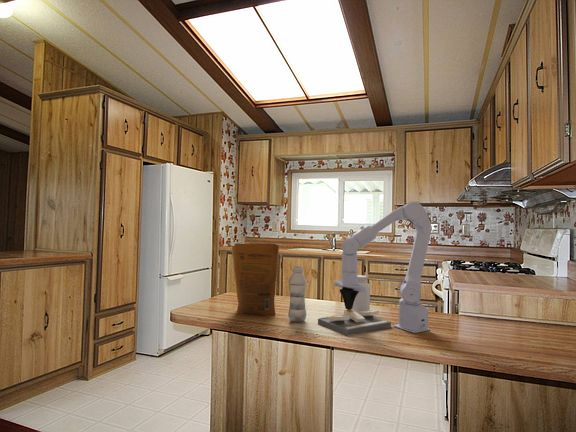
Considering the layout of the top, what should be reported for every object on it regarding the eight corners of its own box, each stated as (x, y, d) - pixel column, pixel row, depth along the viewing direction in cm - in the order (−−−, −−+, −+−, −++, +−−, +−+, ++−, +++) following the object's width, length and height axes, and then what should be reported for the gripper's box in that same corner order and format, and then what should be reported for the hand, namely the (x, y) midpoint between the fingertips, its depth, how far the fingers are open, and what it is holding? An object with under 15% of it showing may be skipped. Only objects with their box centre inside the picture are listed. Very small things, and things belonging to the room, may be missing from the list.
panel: (390, 327, 131) (390, 319, 131) (347, 335, 120) (347, 327, 120) (359, 317, 144) (359, 310, 144) (317, 323, 133) (318, 316, 133)
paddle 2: (379, 314, 134) (378, 310, 134) (371, 315, 132) (371, 311, 132) (365, 314, 139) (365, 310, 140) (358, 315, 138) (357, 311, 138)
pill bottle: (371, 315, 147) (372, 277, 147) (351, 315, 147) (351, 277, 147) (367, 310, 155) (368, 274, 155) (348, 310, 155) (348, 274, 155)
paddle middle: (364, 321, 130) (364, 317, 130) (356, 322, 128) (357, 319, 128) (351, 311, 136) (351, 308, 136) (343, 313, 134) (344, 309, 134)
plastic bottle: (304, 324, 132) (305, 268, 132) (286, 323, 133) (287, 267, 134) (307, 320, 138) (308, 266, 139) (289, 318, 140) (290, 265, 140)
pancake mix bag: (275, 317, 141) (276, 244, 141) (229, 313, 146) (230, 242, 147) (280, 313, 147) (281, 243, 148) (236, 309, 153) (237, 241, 153)
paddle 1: (349, 319, 126) (349, 315, 127) (341, 320, 124) (341, 316, 125) (336, 319, 132) (336, 315, 132) (328, 320, 130) (328, 316, 130)
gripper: (328, 269, 139) (327, 306, 138) (354, 274, 126) (354, 314, 126) (342, 268, 142) (342, 304, 142) (369, 273, 130) (369, 312, 130)
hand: (348, 309), depth 134 cm, fingers closed
